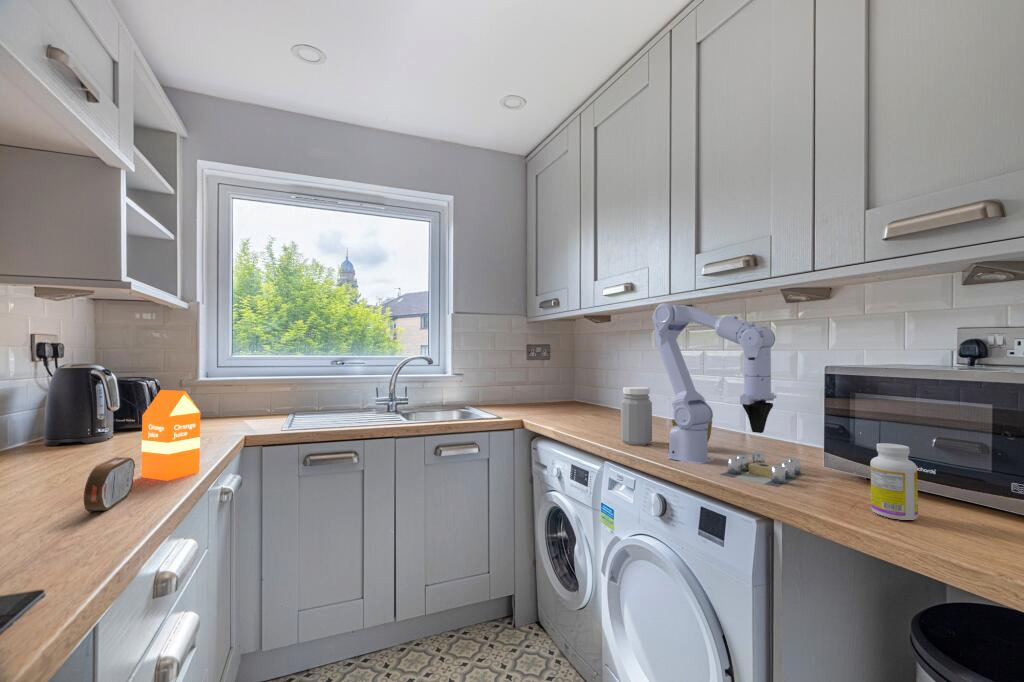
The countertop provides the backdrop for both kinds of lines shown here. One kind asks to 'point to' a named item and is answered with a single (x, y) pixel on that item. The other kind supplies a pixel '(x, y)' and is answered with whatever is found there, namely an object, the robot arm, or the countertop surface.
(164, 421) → the orange juice
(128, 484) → the tin
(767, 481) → the mat
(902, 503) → the supplement bottle
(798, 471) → the spacers
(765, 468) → the tan square block
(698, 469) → the countertop surface
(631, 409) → the jar
